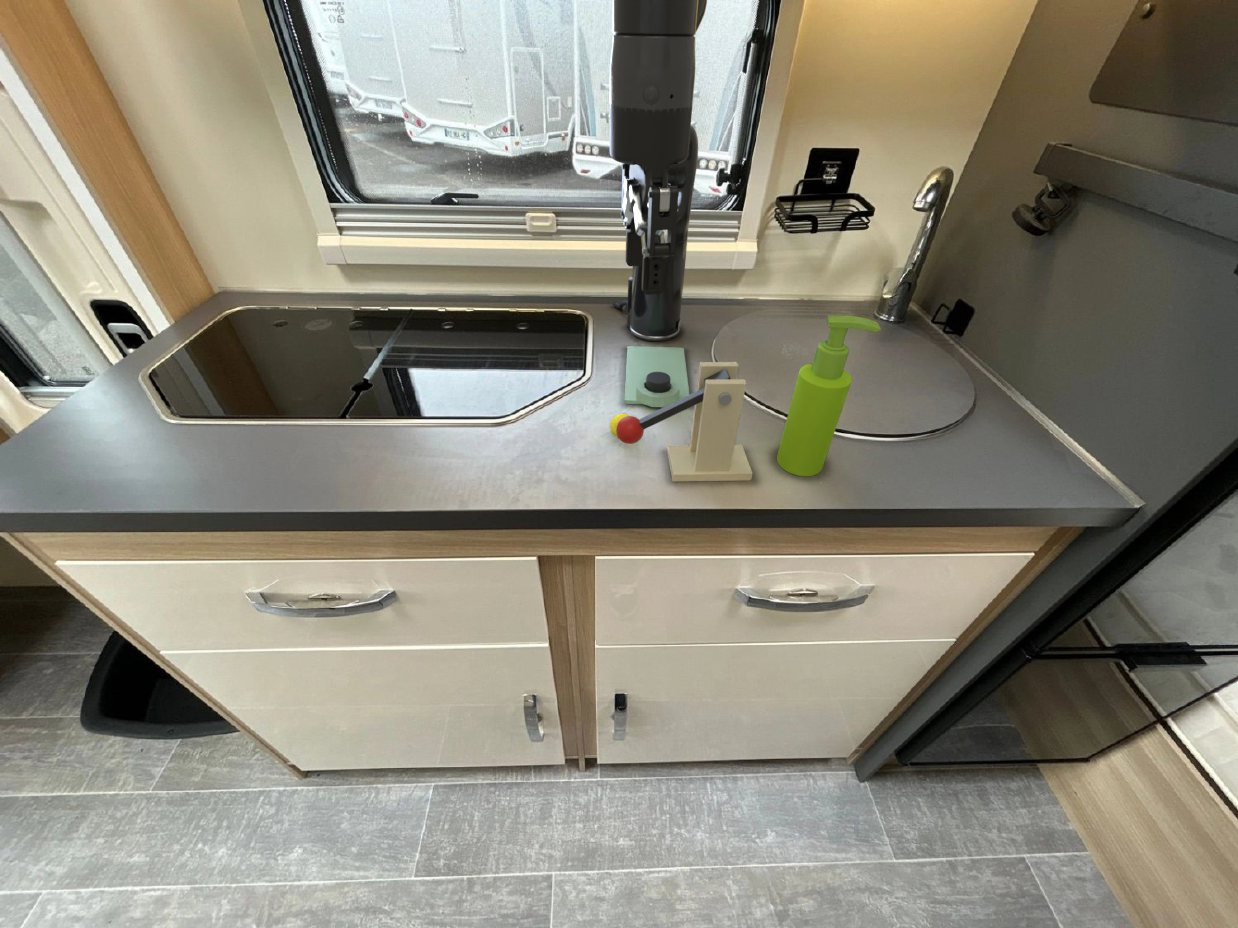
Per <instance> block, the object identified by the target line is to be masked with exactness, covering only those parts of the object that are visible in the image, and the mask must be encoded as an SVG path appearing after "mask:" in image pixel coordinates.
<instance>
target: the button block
mask: <svg viewBox="0 0 1238 928" xmlns="http://www.w3.org/2000/svg"><path fill="white" fill-rule="evenodd" d="M685 356H686V355H685V349H684V347H672V346H669V347H668V346H637V345H636V346H634V345H627V347H626V366H625V384H624V398H623V399H624V401H623V402H624V404H625V405H629V404H630V405H645V406H648V407H650V408H663V407H665V406H668V405H670V404H672V403H674V402H676V401H678V400H680V399H682V398H684V397H686V396H688V395H690V388H689V387H690V386H689V379H688V372H687V363H686V357H685ZM652 372H663V373H666V374H668V375H669V376H670V378H671V379H670V389H669V390H668V391H667V392H664V393H654V392H651V391H648V390H647V389H646V377H647V375H648V374H649V373H652Z"/></svg>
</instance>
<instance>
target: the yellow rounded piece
mask: <svg viewBox="0 0 1238 928" xmlns="http://www.w3.org/2000/svg"><path fill="white" fill-rule="evenodd" d="M627 416H630V414H628V413H618V414H617V415H615V416H614V417H612V419H611V422H610V424H609V428H610V431H611V434H612V435H613V436H614V437H615V438H618V436H617V433H616V427H617V424H618V422H619V421H620V420H621V419H622V418H624V417H627ZM618 439H619V438H618Z"/></svg>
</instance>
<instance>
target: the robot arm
mask: <svg viewBox="0 0 1238 928" xmlns="http://www.w3.org/2000/svg"><path fill="white" fill-rule="evenodd" d="M707 5H708V0H612V33H613V35H612V44H611V45H612V46H611V54H610V63H609V155H610V158H611V159H612V160H614V161H616V162H617V163H619V164H621V170H622V171H621V173H622V174H621V203H620V205H621V207H620V208H621V209H620V217H621V220H623V222H622V223H623V224H622V225H623V227H624V231H625V263H626V265H627V266H628V267H632V273H631V274H632V275H631V276H630V277H629V278H628V279H627V300H622V301H620V302H618V301H613V302H612V306H613V307H614V308H616V309H619V310H620V309H623V307H625V308H624V314H625V315H626V318H627V319H626V328H628V329H629V331H630V333H631V335H633V336H635V337H636V338H638V339H641V340H644V341H651V342H662V341H669V340H672V339H674V338H676V337H677V336H678V335H679V334H680V331H681V330H680V329H681V324H682V319H683V317H682V316H681V315H682V314H681V313H682V306H683V305H682V302H683V294H684V283H685V273H686V271H685V269H686V260H687V251H688V250H687V249H688V237H689V226H690V220H691V212H692V204H693V203H692V202H693V194H694V188H695V183H696V182H695V181H696V175H697V168H698V159H699V138H698V134H697V131H696V128H695V127H694V126H693V125H692V116H693V106H694V105H693V104H694V103H693V102H694V93H695V92H694V91H695V80H696V36H695V35H696V33H697V31H698V29H699V28H700V25H701V23H702V21H703V19H704V17H705V13H706V10H707Z"/></svg>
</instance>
